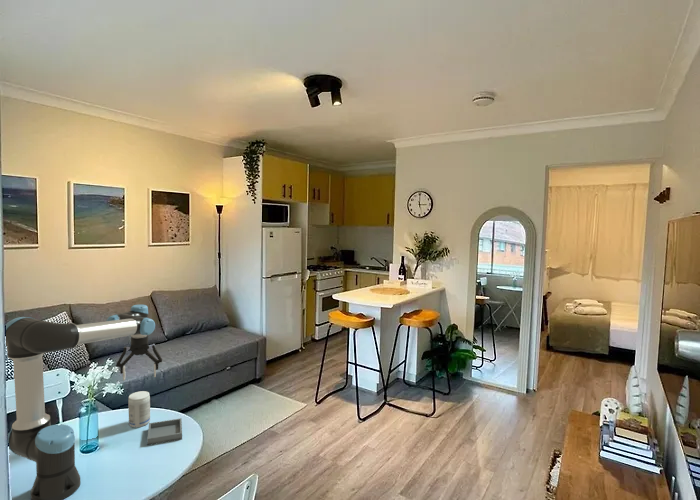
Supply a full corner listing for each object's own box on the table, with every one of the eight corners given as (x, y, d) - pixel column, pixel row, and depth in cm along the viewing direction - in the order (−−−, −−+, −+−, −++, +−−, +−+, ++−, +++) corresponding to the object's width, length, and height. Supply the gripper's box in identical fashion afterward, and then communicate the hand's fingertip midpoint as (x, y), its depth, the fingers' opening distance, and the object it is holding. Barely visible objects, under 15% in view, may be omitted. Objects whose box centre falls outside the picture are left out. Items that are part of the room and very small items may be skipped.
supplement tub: (151, 417, 206) (151, 389, 205) (149, 426, 197) (149, 397, 196) (130, 419, 202) (130, 392, 201) (126, 429, 194) (126, 400, 192)
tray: (147, 445, 181) (147, 438, 181) (149, 429, 195) (149, 423, 194) (182, 439, 187) (182, 433, 187) (181, 423, 201) (181, 418, 200)
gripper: (109, 340, 187) (109, 384, 189) (167, 336, 198) (167, 377, 199) (111, 336, 194) (111, 377, 196) (167, 331, 204) (167, 371, 206)
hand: (139, 377), depth 198 cm, fingers open, 13 cm apart
